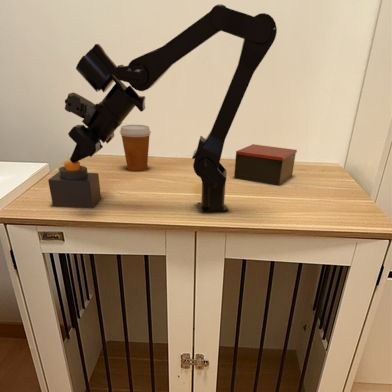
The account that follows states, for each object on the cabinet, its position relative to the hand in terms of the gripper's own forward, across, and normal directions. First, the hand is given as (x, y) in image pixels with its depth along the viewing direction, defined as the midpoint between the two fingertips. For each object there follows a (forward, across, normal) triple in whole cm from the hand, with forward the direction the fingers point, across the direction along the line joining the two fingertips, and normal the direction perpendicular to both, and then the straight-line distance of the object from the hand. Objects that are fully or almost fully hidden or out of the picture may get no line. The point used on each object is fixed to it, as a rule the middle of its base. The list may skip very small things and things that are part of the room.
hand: (71, 161), depth 98 cm
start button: (+2, 0, +1) cm, 2 cm away
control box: (+7, 0, +7) cm, 10 cm away
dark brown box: (-28, -33, +42) cm, 60 cm away
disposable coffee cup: (+1, -37, +13) cm, 39 cm away
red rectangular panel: (-33, -33, +37) cm, 60 cm away
